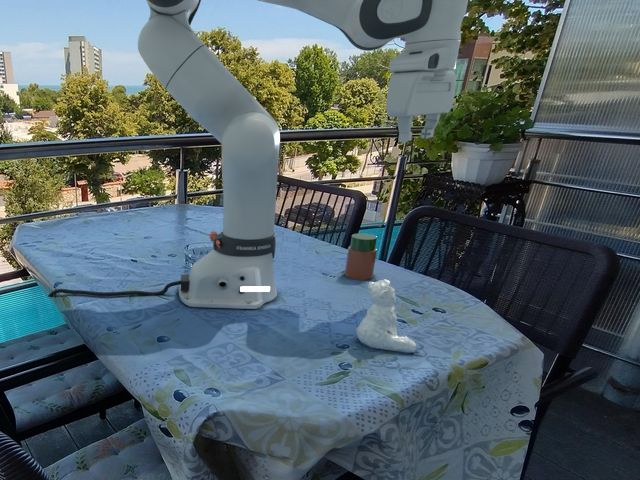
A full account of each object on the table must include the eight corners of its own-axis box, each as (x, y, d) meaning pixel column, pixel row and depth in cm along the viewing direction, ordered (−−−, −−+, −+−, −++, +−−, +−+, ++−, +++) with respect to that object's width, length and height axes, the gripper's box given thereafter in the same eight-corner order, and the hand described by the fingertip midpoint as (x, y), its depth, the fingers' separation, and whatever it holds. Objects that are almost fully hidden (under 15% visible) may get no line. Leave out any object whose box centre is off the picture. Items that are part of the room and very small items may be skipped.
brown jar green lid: (351, 280, 112) (356, 240, 108) (340, 271, 118) (345, 233, 114) (377, 279, 113) (383, 239, 109) (365, 270, 118) (371, 232, 115)
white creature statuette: (418, 354, 80) (432, 289, 75) (369, 357, 79) (380, 292, 75) (389, 329, 88) (399, 270, 84) (345, 332, 88) (353, 272, 83)
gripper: (435, 63, 93) (422, 135, 99) (385, 61, 82) (373, 143, 87) (470, 60, 89) (455, 136, 94) (422, 58, 77) (408, 145, 82)
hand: (415, 140), depth 90 cm, fingers open, 8 cm apart
